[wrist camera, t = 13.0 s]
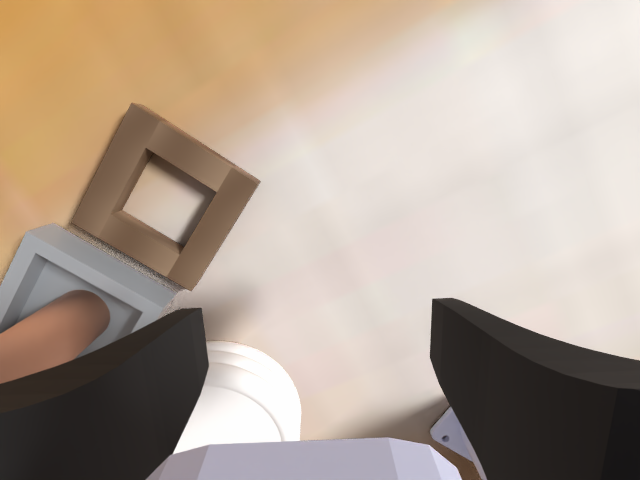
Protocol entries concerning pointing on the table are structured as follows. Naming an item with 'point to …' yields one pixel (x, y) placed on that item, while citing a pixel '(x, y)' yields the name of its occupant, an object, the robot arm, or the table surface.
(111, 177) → the collar
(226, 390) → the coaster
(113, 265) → the tray
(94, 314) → the dowel
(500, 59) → the table surface
